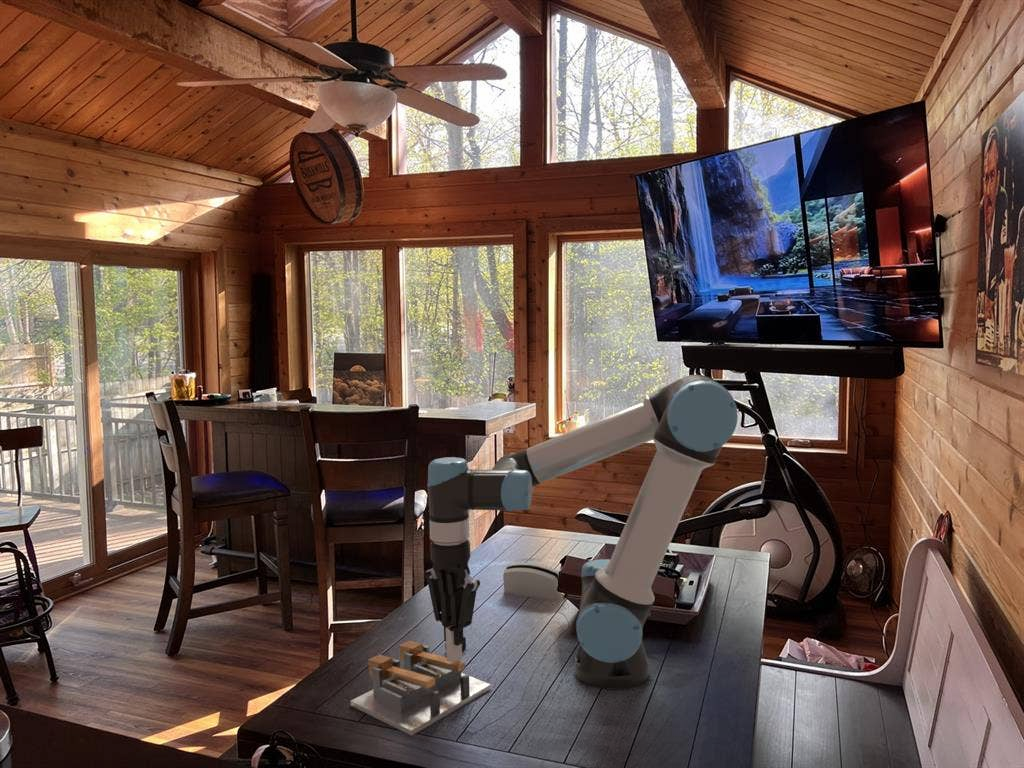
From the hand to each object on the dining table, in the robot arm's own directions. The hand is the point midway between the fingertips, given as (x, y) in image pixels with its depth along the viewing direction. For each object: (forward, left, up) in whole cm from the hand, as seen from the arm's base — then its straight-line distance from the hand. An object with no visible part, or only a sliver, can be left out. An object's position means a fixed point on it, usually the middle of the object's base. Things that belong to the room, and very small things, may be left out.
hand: (454, 659), depth 147 cm
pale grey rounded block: (+21, -51, -8) cm, 55 cm away
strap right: (+6, 0, -3) cm, 7 cm away
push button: (+14, -14, -8) cm, 21 cm away
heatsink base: (+5, +4, -8) cm, 10 cm away
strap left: (+6, +8, -3) cm, 11 cm away
